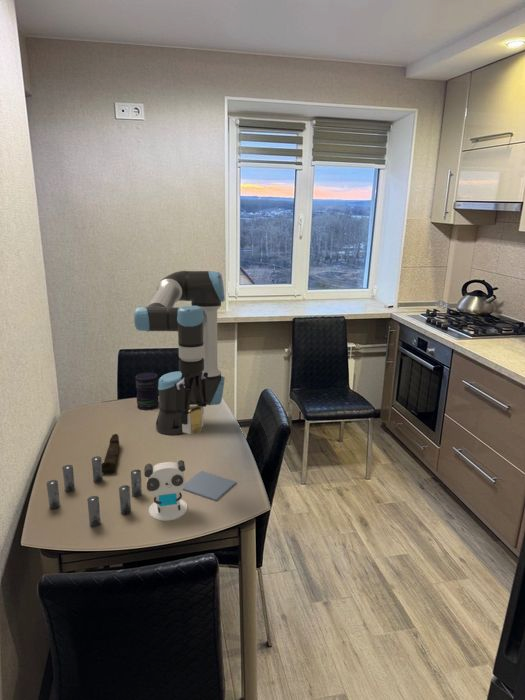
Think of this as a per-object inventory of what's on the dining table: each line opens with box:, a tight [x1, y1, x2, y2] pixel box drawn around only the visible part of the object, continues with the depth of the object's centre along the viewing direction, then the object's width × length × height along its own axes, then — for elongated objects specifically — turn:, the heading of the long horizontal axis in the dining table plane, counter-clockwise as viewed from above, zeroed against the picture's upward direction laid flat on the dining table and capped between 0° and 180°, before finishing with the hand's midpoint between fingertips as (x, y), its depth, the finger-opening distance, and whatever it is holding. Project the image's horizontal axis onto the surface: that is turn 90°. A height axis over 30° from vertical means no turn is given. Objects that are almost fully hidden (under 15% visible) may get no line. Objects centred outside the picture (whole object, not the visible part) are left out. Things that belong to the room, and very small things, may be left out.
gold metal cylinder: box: [189, 405, 203, 435], centre depth 148 cm, size 6×6×7 cm
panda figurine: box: [143, 459, 188, 522], centre depth 141 cm, size 12×11×15 cm
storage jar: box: [135, 372, 159, 411], centre depth 218 cm, size 10×10×15 cm
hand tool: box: [102, 433, 120, 475], centre depth 171 cm, size 23×5×6 cm, turn 7°
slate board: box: [182, 470, 237, 502], centre depth 155 cm, size 12×14×1 cm
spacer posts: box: [46, 455, 143, 528], centre depth 145 cm, size 20×27×8 cm
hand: (192, 428), depth 149 cm, fingers closed on gold metal cylinder, 5 cm apart
